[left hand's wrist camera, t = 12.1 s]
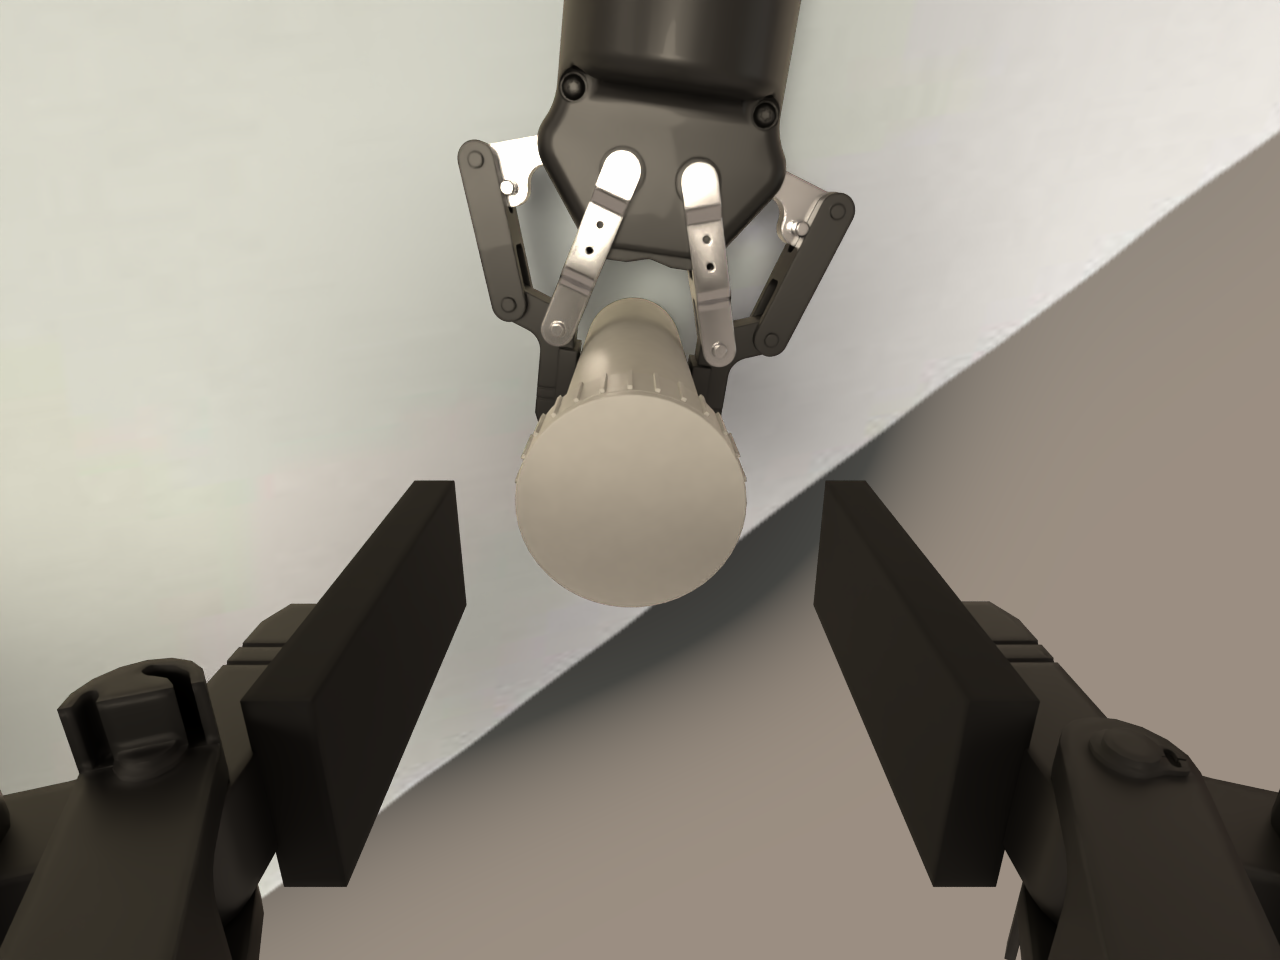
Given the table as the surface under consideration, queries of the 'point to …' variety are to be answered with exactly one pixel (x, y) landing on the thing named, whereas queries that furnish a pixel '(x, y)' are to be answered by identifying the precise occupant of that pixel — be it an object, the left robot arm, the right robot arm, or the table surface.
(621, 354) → the cream cylindrical bottle
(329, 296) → the table surface
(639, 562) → the lid
